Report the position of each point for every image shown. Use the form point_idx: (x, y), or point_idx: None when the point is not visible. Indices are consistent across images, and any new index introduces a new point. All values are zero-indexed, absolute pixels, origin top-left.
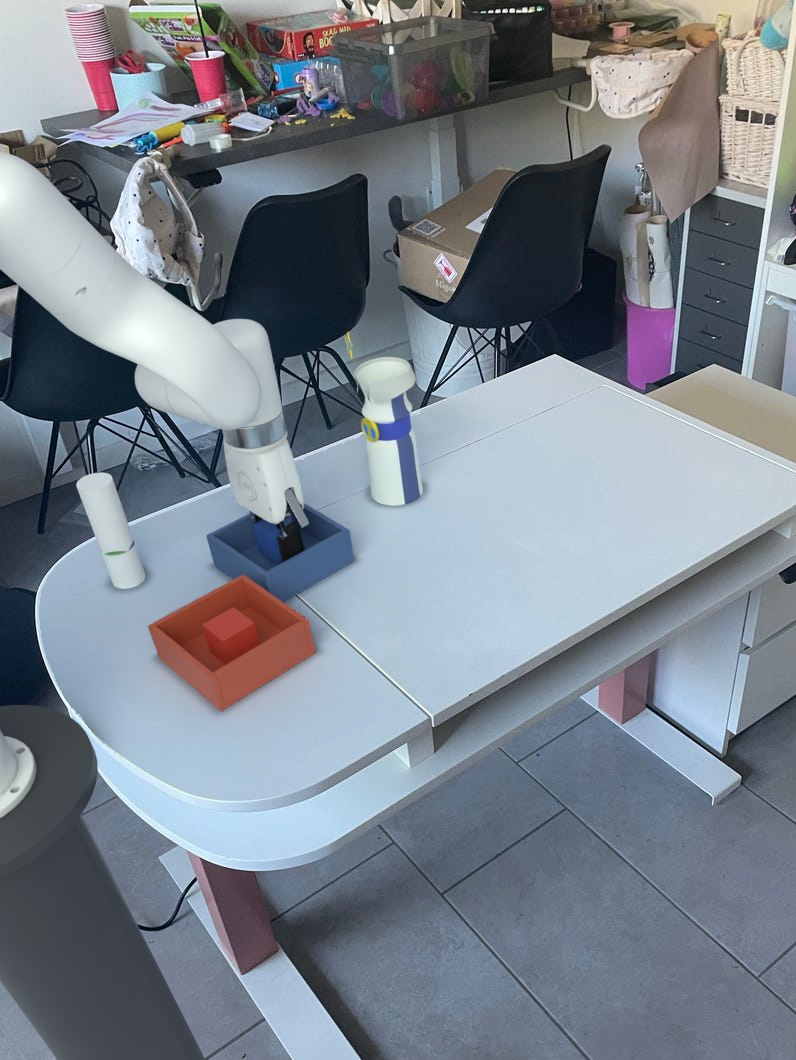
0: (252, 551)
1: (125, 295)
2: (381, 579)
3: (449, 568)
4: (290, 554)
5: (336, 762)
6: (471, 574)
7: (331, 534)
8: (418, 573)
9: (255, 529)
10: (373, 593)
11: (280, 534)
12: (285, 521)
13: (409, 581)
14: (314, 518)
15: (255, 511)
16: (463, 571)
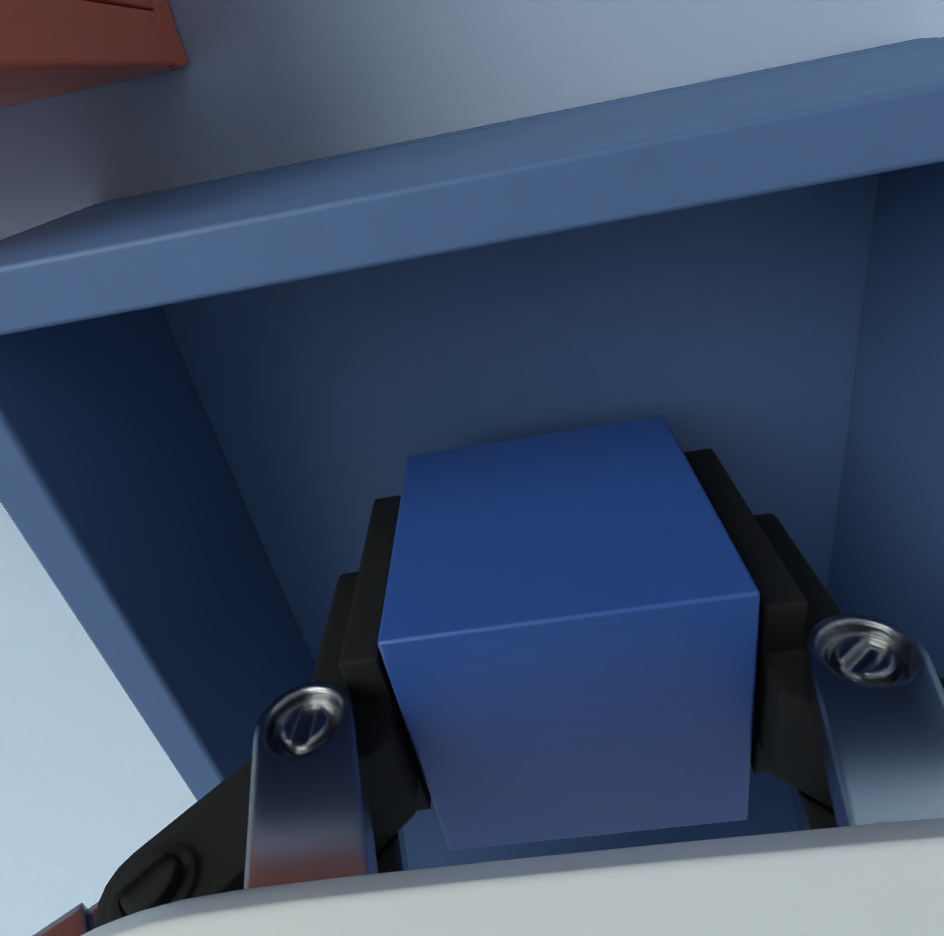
0: (795, 377)
1: None
2: (121, 737)
3: (84, 894)
4: (346, 582)
5: None
6: (15, 917)
7: None
8: (99, 830)
9: (701, 566)
10: (22, 679)
11: (345, 716)
12: (550, 797)
13: (56, 795)
14: None
15: None
16: (45, 910)
